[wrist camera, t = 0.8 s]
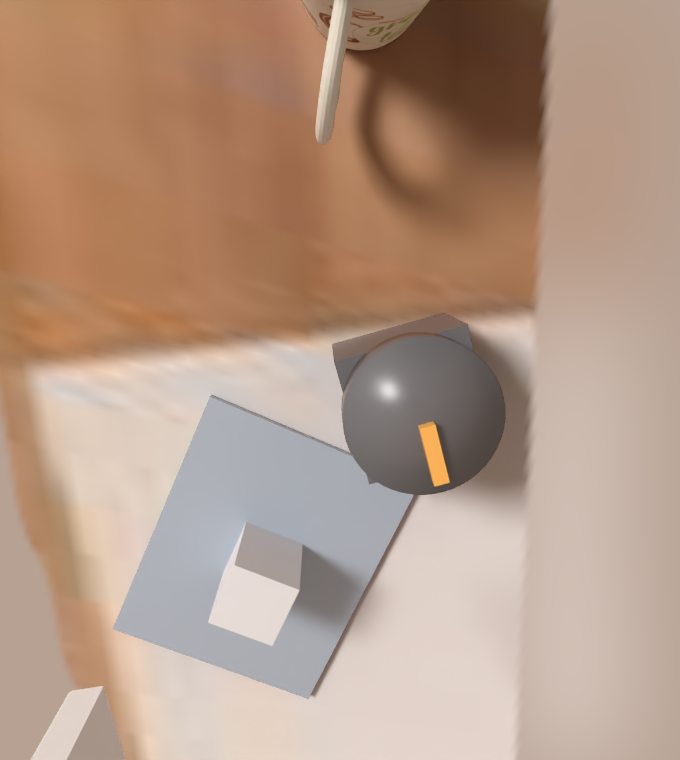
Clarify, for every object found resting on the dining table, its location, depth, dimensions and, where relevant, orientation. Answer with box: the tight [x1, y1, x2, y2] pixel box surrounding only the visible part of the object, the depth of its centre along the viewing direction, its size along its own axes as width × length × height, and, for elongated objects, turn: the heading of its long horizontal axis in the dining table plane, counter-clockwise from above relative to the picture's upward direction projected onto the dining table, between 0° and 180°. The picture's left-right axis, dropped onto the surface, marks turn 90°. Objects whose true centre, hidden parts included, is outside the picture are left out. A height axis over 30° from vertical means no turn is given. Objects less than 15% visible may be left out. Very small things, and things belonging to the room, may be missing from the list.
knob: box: [332, 313, 505, 495], centre depth 28 cm, size 7×7×8 cm
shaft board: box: [113, 395, 414, 699], centre depth 31 cm, size 16×13×5 cm
